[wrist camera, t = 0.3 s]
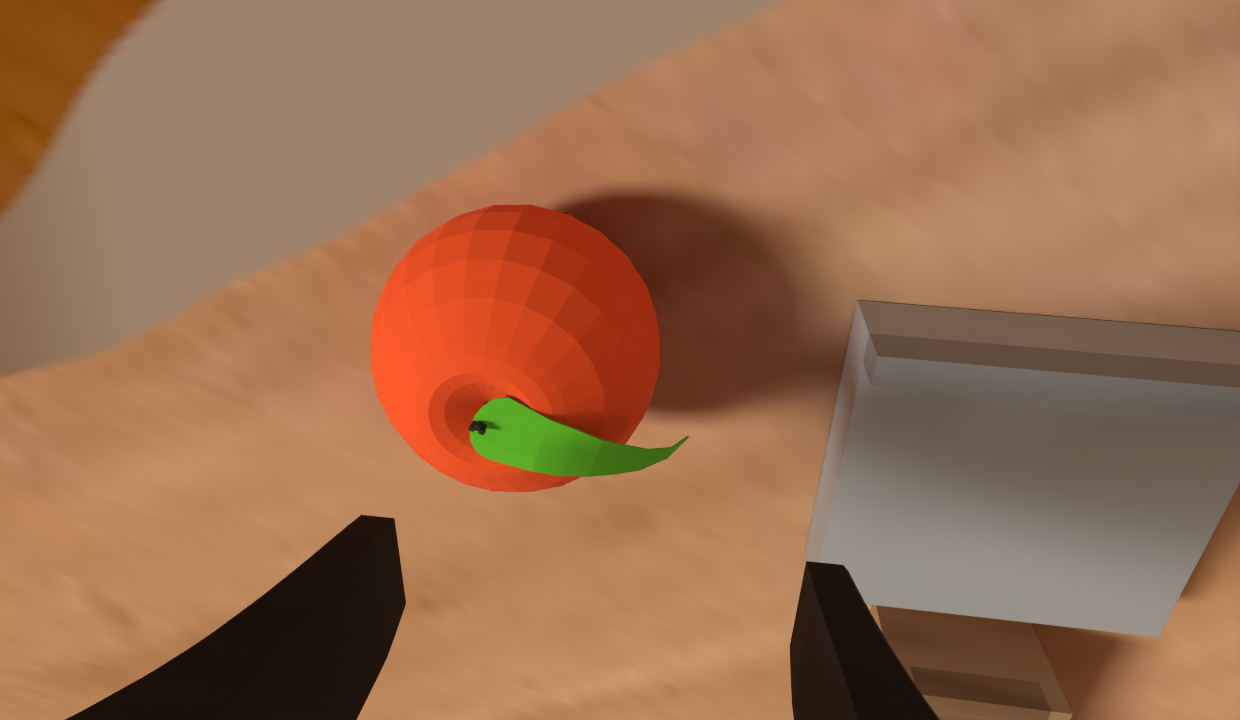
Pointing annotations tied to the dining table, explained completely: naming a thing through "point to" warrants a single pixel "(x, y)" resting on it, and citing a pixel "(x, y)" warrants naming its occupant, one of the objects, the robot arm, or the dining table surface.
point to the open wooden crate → (974, 665)
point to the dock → (1027, 464)
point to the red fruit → (518, 351)
